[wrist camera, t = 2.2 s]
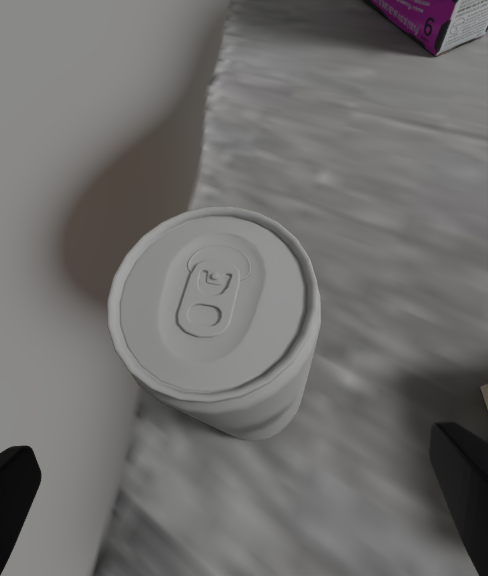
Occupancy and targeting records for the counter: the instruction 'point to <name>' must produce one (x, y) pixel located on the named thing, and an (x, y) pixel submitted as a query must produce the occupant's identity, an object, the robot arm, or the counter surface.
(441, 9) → the candy bar box
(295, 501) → the counter surface
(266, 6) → the counter surface
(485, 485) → the robot arm
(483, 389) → the maple block
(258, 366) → the beverage can
